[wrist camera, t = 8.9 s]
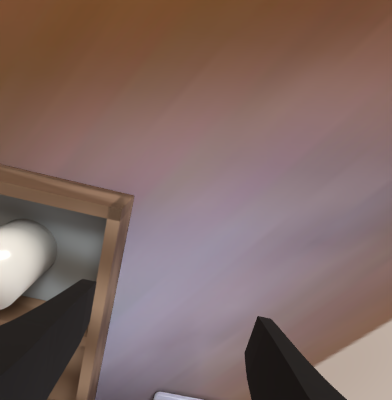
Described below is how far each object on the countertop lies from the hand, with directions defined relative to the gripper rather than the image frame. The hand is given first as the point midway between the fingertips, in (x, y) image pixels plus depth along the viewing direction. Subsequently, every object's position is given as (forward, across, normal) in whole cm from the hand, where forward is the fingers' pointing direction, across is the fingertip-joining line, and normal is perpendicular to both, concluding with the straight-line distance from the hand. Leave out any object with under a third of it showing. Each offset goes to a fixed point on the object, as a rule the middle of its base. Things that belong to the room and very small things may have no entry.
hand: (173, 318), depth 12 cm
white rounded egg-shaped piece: (+8, +11, +3) cm, 14 cm away
